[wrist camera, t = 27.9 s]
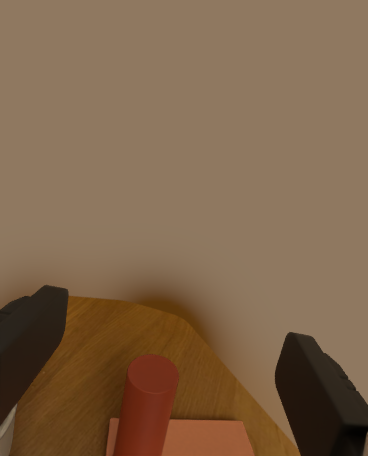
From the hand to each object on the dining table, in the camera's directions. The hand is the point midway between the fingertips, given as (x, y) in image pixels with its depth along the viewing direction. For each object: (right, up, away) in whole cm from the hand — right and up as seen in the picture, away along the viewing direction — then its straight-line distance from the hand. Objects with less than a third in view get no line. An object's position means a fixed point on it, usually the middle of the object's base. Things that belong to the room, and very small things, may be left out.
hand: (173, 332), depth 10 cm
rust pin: (-4, -20, +18) cm, 27 cm away
